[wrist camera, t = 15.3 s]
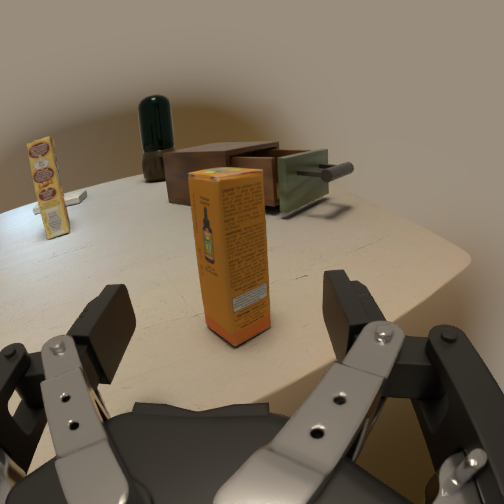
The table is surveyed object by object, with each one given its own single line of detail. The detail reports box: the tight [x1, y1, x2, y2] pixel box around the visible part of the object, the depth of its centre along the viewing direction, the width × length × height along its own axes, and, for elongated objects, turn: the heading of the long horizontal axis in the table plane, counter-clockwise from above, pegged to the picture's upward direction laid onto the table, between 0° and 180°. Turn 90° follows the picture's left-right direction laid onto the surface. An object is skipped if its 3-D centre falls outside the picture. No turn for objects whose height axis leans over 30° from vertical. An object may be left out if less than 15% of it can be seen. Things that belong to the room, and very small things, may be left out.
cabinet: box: [162, 142, 279, 205], centre depth 51 cm, size 15×13×9 cm
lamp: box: [138, 94, 176, 182], centre depth 73 cm, size 10×10×22 cm
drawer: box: [229, 149, 354, 213], centre depth 44 cm, size 18×11×7 cm, turn 51°
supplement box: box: [188, 167, 271, 346], centre depth 18 cm, size 3×3×10 cm
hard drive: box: [33, 190, 87, 214], centre depth 65 cm, size 2×8×12 cm
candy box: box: [27, 137, 70, 239], centre depth 42 cm, size 9×4×15 cm, turn 33°
